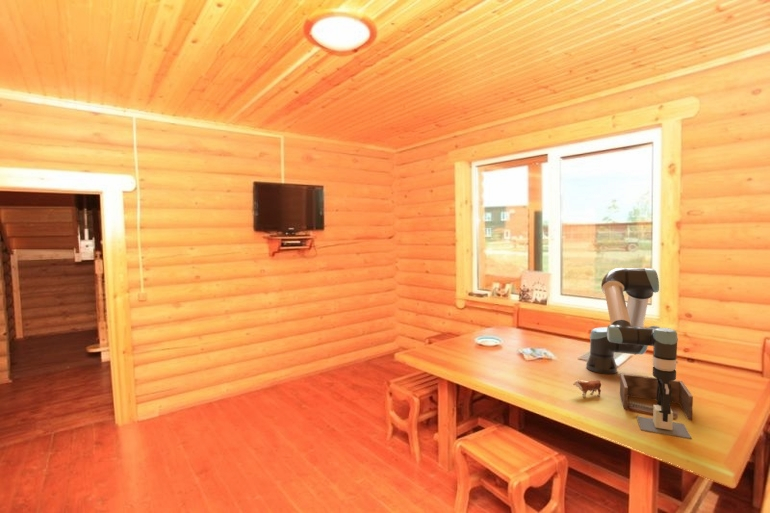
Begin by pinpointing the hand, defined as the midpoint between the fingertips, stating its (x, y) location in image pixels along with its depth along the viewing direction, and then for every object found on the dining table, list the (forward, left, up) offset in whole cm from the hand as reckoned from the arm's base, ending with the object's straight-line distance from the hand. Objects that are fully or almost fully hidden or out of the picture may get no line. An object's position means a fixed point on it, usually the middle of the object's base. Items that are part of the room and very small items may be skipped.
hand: (662, 424), depth 155 cm
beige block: (0, 0, 0) cm, 0 cm away
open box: (0, +20, -1) cm, 20 cm away
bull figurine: (-26, +21, -1) cm, 33 cm away
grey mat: (0, 0, -1) cm, 1 cm away
